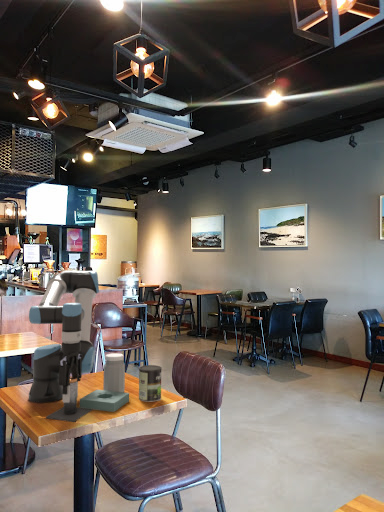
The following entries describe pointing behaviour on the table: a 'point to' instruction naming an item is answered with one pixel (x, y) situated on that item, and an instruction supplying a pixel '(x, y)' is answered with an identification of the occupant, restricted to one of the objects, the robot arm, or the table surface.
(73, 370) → the robot arm
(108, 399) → the block
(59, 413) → the mat
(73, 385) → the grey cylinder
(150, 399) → the coffee can
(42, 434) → the table surface
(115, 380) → the jar
